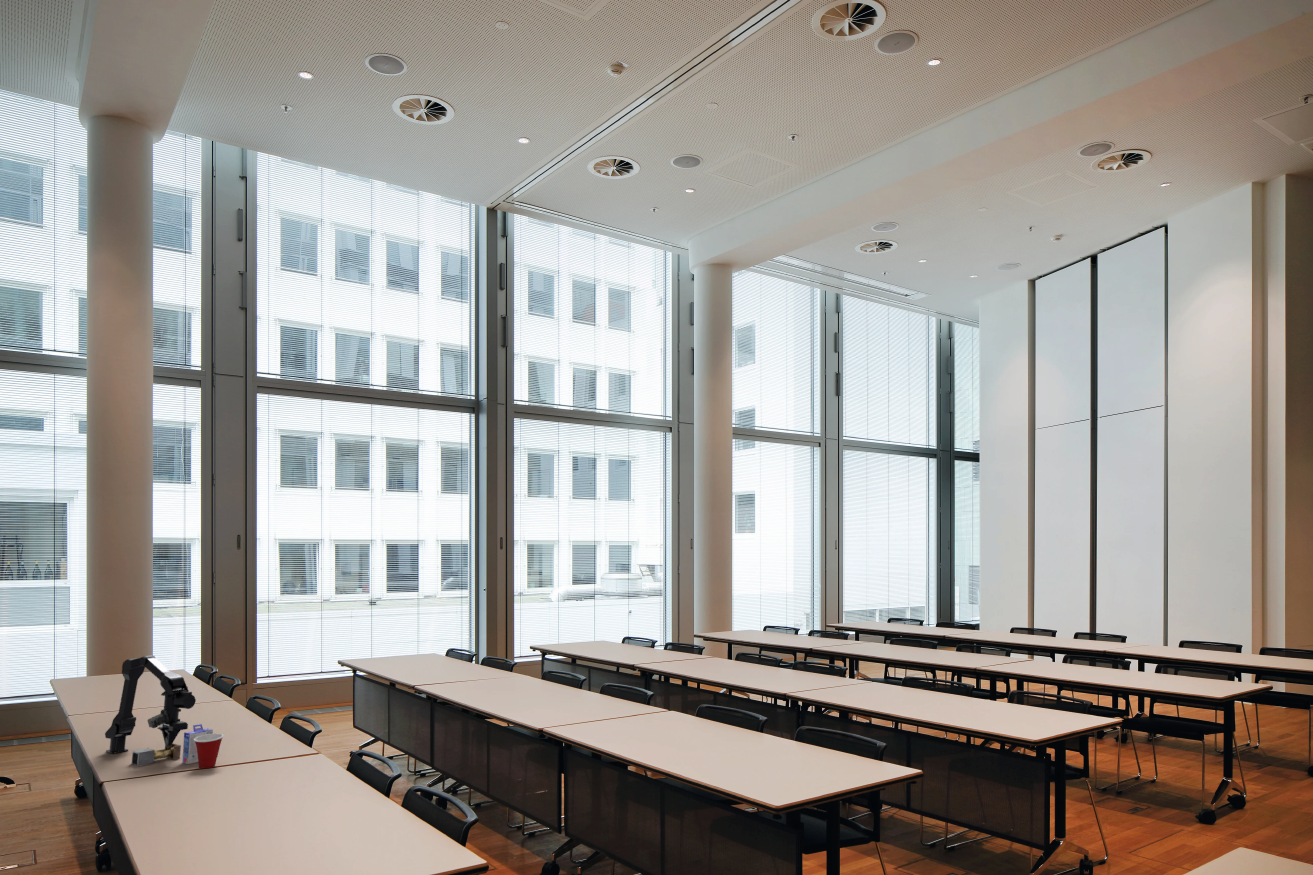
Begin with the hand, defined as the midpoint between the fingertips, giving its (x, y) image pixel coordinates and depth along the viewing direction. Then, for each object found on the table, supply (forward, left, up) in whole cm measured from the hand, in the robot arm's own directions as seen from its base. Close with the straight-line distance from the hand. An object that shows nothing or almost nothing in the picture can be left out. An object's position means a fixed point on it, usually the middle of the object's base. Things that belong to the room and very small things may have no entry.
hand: (168, 744), depth 353 cm
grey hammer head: (0, -10, -6) cm, 11 cm away
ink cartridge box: (+13, +6, -6) cm, 15 cm away
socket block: (0, +3, -6) cm, 6 cm away
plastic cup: (+25, +4, -6) cm, 26 cm away
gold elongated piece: (0, -2, -6) cm, 6 cm away
